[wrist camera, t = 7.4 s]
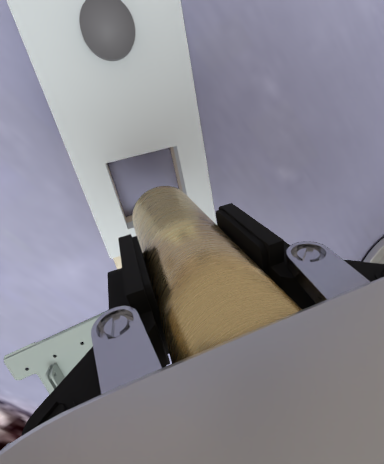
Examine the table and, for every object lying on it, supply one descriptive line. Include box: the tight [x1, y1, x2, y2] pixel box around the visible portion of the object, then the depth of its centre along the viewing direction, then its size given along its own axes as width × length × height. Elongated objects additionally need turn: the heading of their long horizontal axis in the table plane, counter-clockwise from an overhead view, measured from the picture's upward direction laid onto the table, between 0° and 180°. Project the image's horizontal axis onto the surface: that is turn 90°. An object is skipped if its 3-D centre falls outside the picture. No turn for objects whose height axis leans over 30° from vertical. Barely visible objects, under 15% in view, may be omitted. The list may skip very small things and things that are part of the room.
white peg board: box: [7, 0, 217, 269], centre depth 22 cm, size 26×10×4 cm, turn 11°
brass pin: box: [132, 186, 302, 364], centre depth 10 cm, size 4×4×12 cm
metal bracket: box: [4, 312, 105, 394], centre depth 30 cm, size 14×6×15 cm
